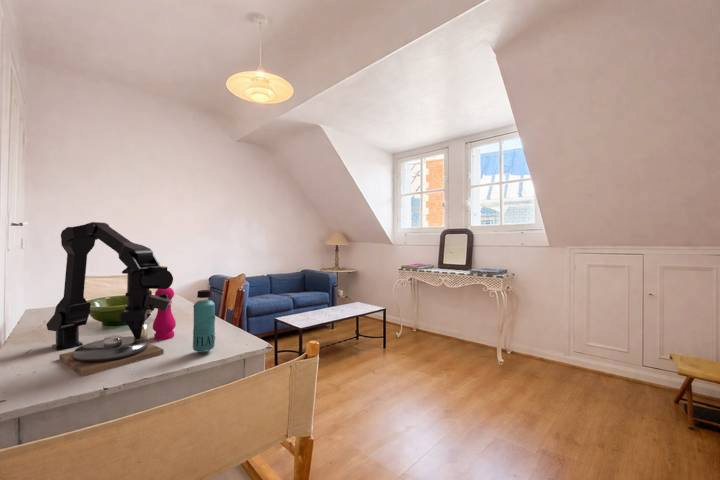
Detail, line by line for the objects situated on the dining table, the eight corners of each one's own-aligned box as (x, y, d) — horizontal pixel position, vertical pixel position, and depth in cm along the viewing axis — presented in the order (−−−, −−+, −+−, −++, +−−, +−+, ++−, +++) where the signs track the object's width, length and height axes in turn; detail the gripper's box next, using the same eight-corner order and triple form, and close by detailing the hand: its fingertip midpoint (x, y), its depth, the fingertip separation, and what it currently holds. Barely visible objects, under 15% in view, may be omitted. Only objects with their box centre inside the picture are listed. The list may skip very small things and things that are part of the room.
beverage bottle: (192, 357, 98) (192, 292, 98) (192, 350, 104) (192, 289, 104) (215, 354, 101) (216, 291, 101) (214, 347, 107) (215, 288, 107)
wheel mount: (59, 359, 96) (59, 354, 96) (135, 341, 112) (135, 337, 112) (82, 376, 85) (82, 370, 85) (163, 354, 101) (163, 349, 101)
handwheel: (70, 367, 86) (70, 342, 86) (76, 348, 100) (76, 326, 100) (150, 353, 97) (150, 330, 97) (145, 337, 111) (145, 318, 111)
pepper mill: (164, 341, 113) (165, 284, 113) (147, 339, 114) (147, 283, 114) (180, 335, 120) (180, 281, 120) (163, 333, 122) (164, 281, 121)
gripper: (164, 290, 95) (164, 343, 94) (171, 283, 111) (171, 329, 111) (118, 292, 90) (117, 349, 89) (133, 285, 107) (132, 332, 106)
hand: (137, 339), depth 99 cm, fingers closed
